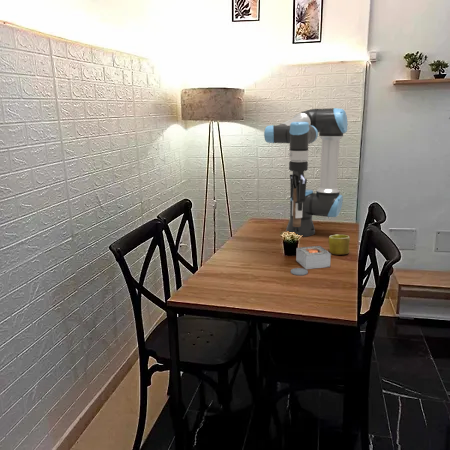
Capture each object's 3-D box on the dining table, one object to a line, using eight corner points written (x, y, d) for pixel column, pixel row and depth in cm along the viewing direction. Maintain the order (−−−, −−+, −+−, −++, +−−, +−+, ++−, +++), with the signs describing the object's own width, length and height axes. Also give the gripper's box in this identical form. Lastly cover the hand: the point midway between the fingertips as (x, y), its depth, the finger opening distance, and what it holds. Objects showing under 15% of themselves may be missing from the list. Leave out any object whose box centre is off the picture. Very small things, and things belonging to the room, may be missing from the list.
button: (306, 255, 190) (307, 250, 190) (315, 254, 191) (315, 249, 190) (310, 258, 186) (310, 252, 186) (319, 257, 187) (319, 252, 187)
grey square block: (296, 260, 194) (296, 247, 192) (319, 258, 196) (319, 245, 194) (305, 269, 183) (306, 255, 182) (330, 266, 186) (330, 253, 184)
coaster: (288, 270, 183) (288, 268, 182) (303, 268, 184) (303, 267, 184) (294, 276, 176) (294, 274, 176) (310, 274, 178) (310, 273, 177)
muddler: (291, 225, 186) (292, 188, 182) (299, 224, 187) (300, 187, 182) (294, 227, 183) (295, 189, 179) (301, 226, 184) (303, 189, 179)
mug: (354, 253, 196) (347, 232, 196) (331, 259, 199) (325, 238, 199) (353, 250, 208) (347, 230, 208) (332, 255, 210) (326, 235, 210)
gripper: (283, 158, 185) (282, 212, 191) (296, 163, 169) (295, 222, 175) (300, 158, 186) (298, 211, 192) (315, 162, 170) (313, 220, 177)
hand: (297, 216), depth 184 cm, fingers closed on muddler, 3 cm apart
